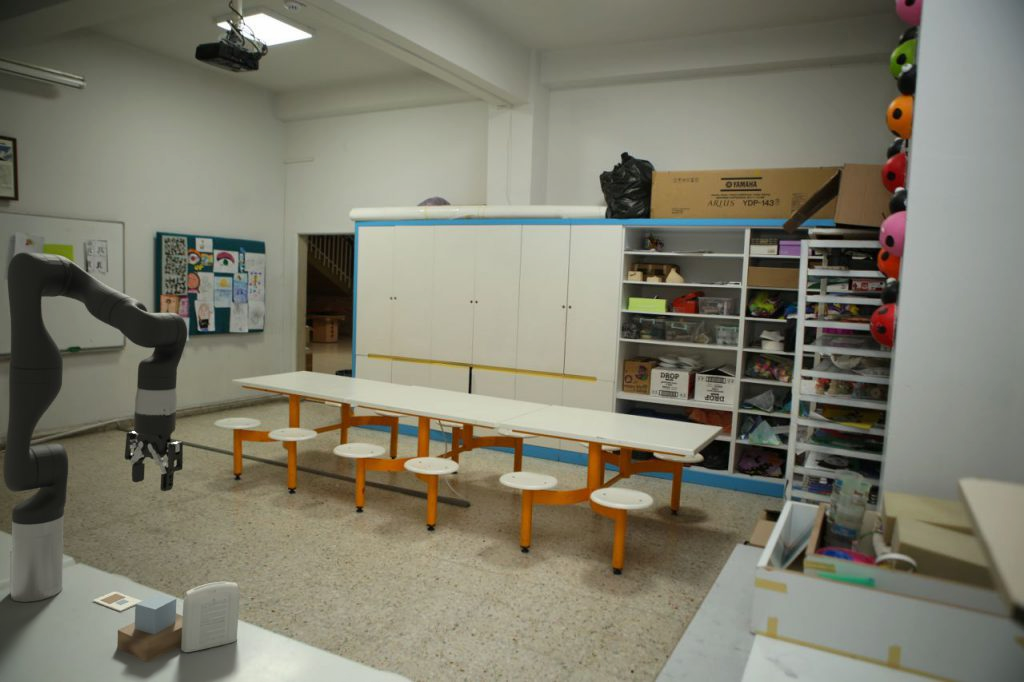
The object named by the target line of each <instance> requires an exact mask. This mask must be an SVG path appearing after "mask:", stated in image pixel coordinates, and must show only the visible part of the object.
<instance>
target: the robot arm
mask: <svg viewBox="0 0 1024 682" xmlns="http://www.w3.org/2000/svg"><path fill="white" fill-rule="evenodd" d="M7 269H8V270H7V278H6V279H7V292H8V294H7V295H8V305H9V313H10V314H9V316H10V356H9V371H8V375H9V377H8V385H9V386H8V387H9V388H8V392H9V393H8V395H9V397H8V400H9V401H8V402H9V403H8V406H9V407H8V423H7V424H8V425H7V431H6V432H7V434H6V440H5V441H6V442H5V447H4V455H3V465H2V466H3V467H2V469H3V470H2V471H3V479H4V484H5V486H6V488H7V489H8V490H9V491H11V492H15V493H16V492H17V493H18V492H23V491H24V492H25V491H31V490H35V489H38V490H37V491H36V492H35V493H34V494H32V495H31V496H30V497H28V498H27V499H25V500H23V501H21V502H19V503H18V504H16V505H15V506H14V507H13V509H12V513H11V520H12V521H11V550H10V554H9V594H10V598H11V600H13V601H15V602H19V601H20V602H21V603H26V602H27V603H28V602H29V603H30V601H31V602H35V601H36V602H38V601H42V600H45V599H49V598H51V597H53V596H55V595H57V594H59V593H60V592H62V590H63V576H64V575H63V573H64V572H63V570H64V569H63V567H64V561H63V560H64V520H65V519H64V518H65V515H64V514H65V506H66V501H67V487H68V478H69V457H68V453H67V451H66V449H65V447H64V446H63V445H61V444H59V443H48V444H40V445H33V446H31V444H32V443H31V442H32V437H33V435H34V434H33V433H34V431H35V429H36V426H37V424H38V423H39V421H40V419H42V417H43V415H44V414H45V412H47V410H48V409H49V407H50V406H51V405H52V404H53V402H55V399H56V398H57V396H58V394H59V393H60V392H61V389H62V386H63V372H64V371H63V369H64V364H63V356H62V353H61V350H60V349H59V346H58V345H57V344H56V341H55V340H54V339H53V337H52V335H51V334H50V333H49V331H48V329H47V328H46V325H45V323H44V320H43V313H42V311H43V310H42V297H48V298H49V297H51V298H54V297H55V298H56V297H65V298H67V299H68V298H69V299H73V300H76V301H79V302H80V303H82V304H84V306H85V309H86V310H87V312H89V314H90V315H91V316H92V317H94V318H95V319H97V320H98V321H101V322H102V323H104V324H106V325H108V326H110V327H112V328H114V329H116V330H119V331H120V332H121V334H123V335H124V336H125V337H126V338H127V339H128V340H129V341H130V342H131V343H133V344H135V345H137V346H139V347H141V348H142V347H143V348H146V349H153V348H154V350H153V353H152V354H151V356H149V357H146V358H144V359H142V360H140V362H139V363H138V366H137V367H138V368H137V382H136V383H137V385H136V391H135V392H136V394H135V398H134V416H133V417H134V418H133V431H128V432H126V437H125V446H124V447H125V448H124V459H125V460H126V461H128V460H129V463H130V465H132V468H131V481H132V482H133V483H140V482H143V481H144V480H145V468H146V467H145V466H146V465H145V462H146V460H147V458H149V459H151V460H154V462H155V465H157V466H159V469H160V471H161V474H160V491H162V492H167V491H170V490H172V488H173V487H174V476H175V472H179V471H182V470H183V467H184V466H183V464H184V462H183V460H184V459H183V458H184V457H183V454H184V453H183V452H184V451H183V449H184V446H183V445H184V444H183V441H181V440H180V441H172V438H171V437H172V434H173V433H174V432H175V430H176V421H177V403H178V402H177V401H178V399H177V397H178V395H177V377H178V376H177V375H178V367H179V364H180V361H181V359H182V356H183V352H184V349H185V345H186V343H187V340H188V326H187V323H186V321H185V319H184V318H183V317H182V316H181V315H180V314H178V313H176V312H148V310H147V307H146V305H145V304H144V303H143V302H141V301H140V300H137V299H136V298H133V297H132V296H129V295H127V294H126V293H123V292H121V291H119V290H117V289H115V288H113V287H112V286H111V287H110V286H108V285H106V283H103V282H102V281H100V280H98V278H96V277H94V276H93V275H91V274H90V273H88V272H87V271H85V270H84V269H83V268H81V267H80V266H79V265H77V264H76V263H74V262H73V261H72V260H70V259H69V258H68V257H65V256H63V255H59V254H53V253H42V252H29V251H28V252H26V251H25V252H24V251H23V252H17V253H16V254H15V255H14V256H13V257H12V258H11V260H10V262H9V265H8V268H7ZM132 449H133V452H132ZM175 461H176V464H175ZM166 463H167V465H166Z"/></svg>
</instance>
